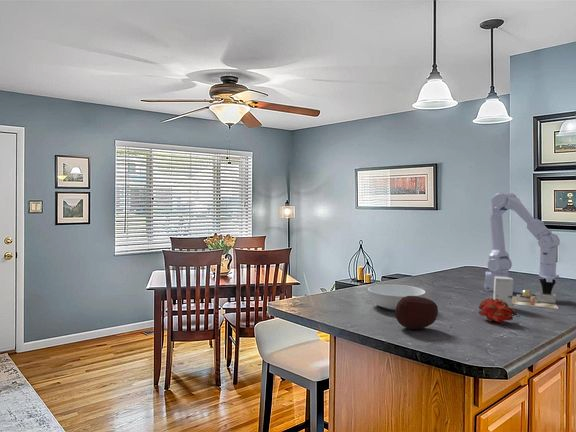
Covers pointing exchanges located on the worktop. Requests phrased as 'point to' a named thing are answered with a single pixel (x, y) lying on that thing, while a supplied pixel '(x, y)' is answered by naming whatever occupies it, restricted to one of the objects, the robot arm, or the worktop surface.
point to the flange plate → (539, 298)
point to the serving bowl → (392, 294)
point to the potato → (416, 312)
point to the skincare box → (503, 289)
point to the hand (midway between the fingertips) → (546, 297)
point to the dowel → (532, 300)
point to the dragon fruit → (496, 310)
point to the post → (526, 294)
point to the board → (538, 304)
